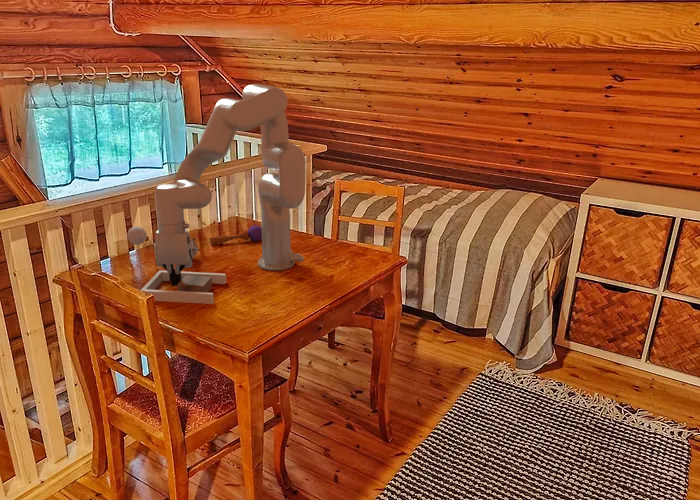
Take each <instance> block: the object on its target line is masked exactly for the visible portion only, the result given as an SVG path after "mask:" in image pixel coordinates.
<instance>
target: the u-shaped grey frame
mask: <svg viewBox="0 0 700 500" xmlns="http://www.w3.org/2000/svg"><path fill="white" fill-rule="evenodd" d="M186 275H193V276H206V277H212V284H219V285H226V283H227V274H226V273H218V272H196V271H181V280H182V279H183V278H184V277H185V276H186ZM162 282H170V277H169V273H168V272H167V270H158V272H157V271H156V273H155V274H154V275H153V276H152V278H150V279H149V281H148V282H146V283H145V285H144V286H142V288H140V290H141V291H143V292H146V293H149V294H152V295H153V296H154V298H155V301H154V302H169V303H187V304H189V303H191V304H206V305H207V304H208V305H213V304H214V301H215V300H214V292H208V293H207V292H187V291H178V290H164V289H157V288H158V287H159V286H160V285H161V283H162Z"/></svg>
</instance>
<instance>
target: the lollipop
mask: <svg viewBox="0 0 700 500" xmlns="http://www.w3.org/2000/svg"><path fill="white" fill-rule="evenodd" d="M126 235H127V236H126V238H127V240H128V241H129V242H130V243H131V244H133V245H136V246H137V253H138V261H139V270H140V271H142V269H143V268H142V262H141V253H140V245H141V244H143V243H145V241H146V240H147V237H148V233H147V231H146V230H145V228H143V227H142V226H138V225H136V226H133V227H131V228H129V229H128V232H127V234H126Z"/></svg>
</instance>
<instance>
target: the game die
mask: <svg viewBox="0 0 700 500" xmlns="http://www.w3.org/2000/svg"><path fill="white" fill-rule="evenodd" d="M190 240H191V245H192V252H193V258H192V259H191V261H192V262H194V257H195V256H196V255H197V253H198V252H199V251H201V249H200V248H199V247H198V246H197V243H196V241H195V240H196V237H194V238H193V239H191V238H190Z"/></svg>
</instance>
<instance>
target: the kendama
mask: <svg viewBox="0 0 700 500" xmlns="http://www.w3.org/2000/svg"><path fill="white" fill-rule="evenodd" d="M237 239H241V240H246V241H249V240H251V241H253V242H258V241H259V242H260V241H262V226H260V225H256V224H255V225H252V226H250V227H249V228H248V229H245V230H243V231H242V232H240V233H239V234H237V235H235V234H234V235H233V234H232V235H220V236H210V237H209V242H210V243H209V244H210V245H211V246H212V247H213V246H215V245H219V244H223V243H225V242H229V241H233V240H237Z"/></svg>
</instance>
